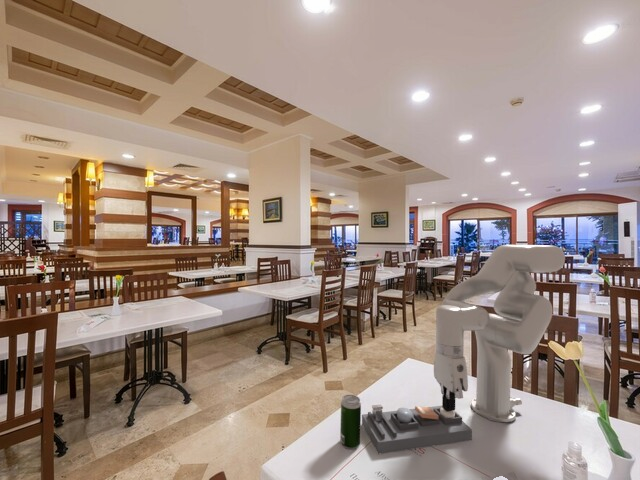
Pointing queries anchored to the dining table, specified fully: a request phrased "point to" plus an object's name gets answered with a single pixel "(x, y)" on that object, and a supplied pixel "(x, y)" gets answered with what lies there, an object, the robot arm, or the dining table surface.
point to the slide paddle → (377, 412)
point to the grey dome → (404, 415)
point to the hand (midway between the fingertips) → (448, 409)
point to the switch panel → (414, 431)
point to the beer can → (350, 422)
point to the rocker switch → (426, 412)
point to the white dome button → (447, 413)
